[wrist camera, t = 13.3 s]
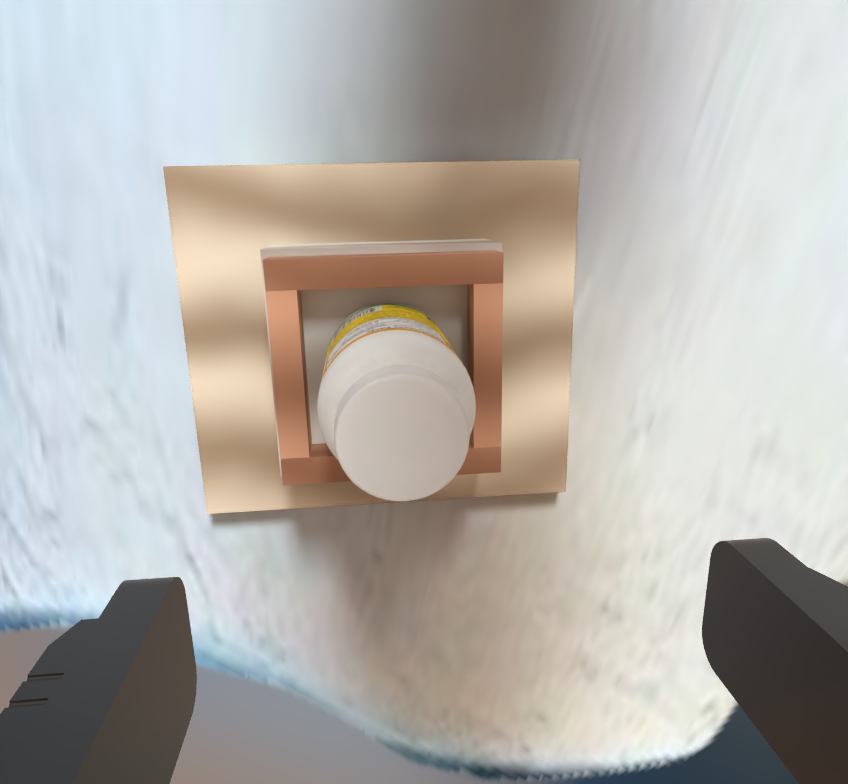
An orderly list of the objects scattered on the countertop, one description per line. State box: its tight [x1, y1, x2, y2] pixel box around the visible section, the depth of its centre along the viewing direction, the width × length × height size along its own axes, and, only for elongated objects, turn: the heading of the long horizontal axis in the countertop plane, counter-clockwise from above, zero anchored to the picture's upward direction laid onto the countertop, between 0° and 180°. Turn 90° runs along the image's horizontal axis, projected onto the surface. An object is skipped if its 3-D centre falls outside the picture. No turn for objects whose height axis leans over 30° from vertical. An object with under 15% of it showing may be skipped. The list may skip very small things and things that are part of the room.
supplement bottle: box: [317, 302, 476, 501], centre depth 23 cm, size 5×5×10 cm
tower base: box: [163, 159, 580, 514], centre depth 30 cm, size 17×19×7 cm
